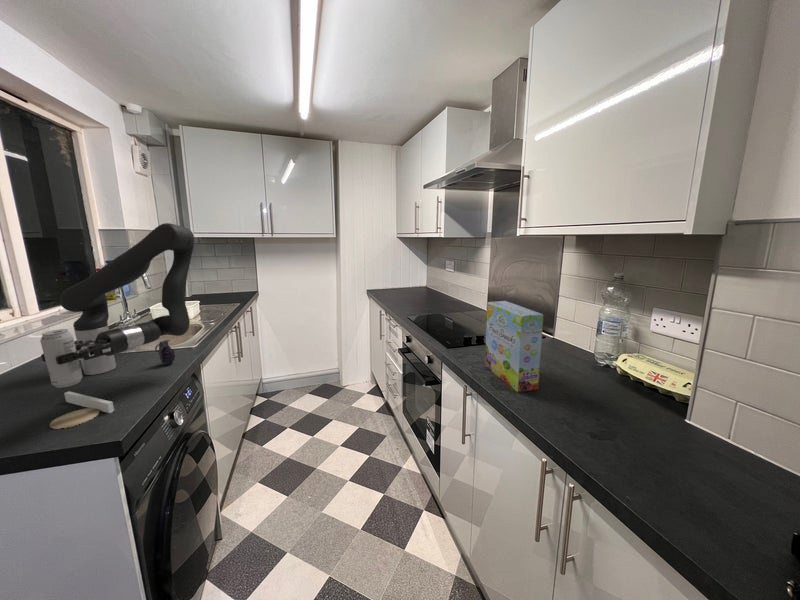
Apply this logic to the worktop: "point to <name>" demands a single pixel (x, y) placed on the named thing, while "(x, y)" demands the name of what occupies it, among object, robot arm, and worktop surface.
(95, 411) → the cork coaster
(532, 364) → the snack box
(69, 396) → the white rectangular bar
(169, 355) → the hand grenade
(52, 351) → the energy drink can
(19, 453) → the worktop surface
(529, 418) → the worktop surface
